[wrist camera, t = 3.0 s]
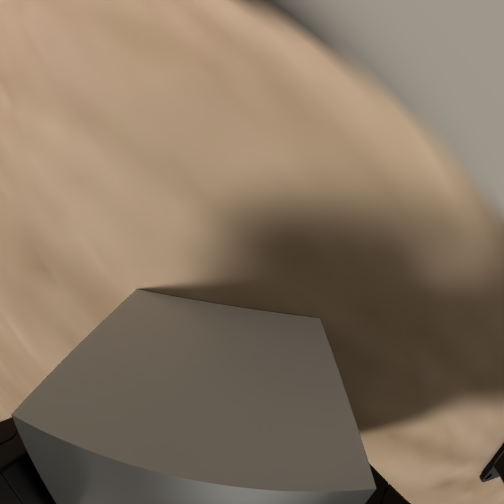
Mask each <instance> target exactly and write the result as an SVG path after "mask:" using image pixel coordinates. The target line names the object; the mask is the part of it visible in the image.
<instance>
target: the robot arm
mask: <svg viewBox="0 0 504 504" xmlns="http://www.w3.org/2000/svg"><path fill="white" fill-rule="evenodd" d="M369 465H370V464H369ZM370 469H371V472H372V475H373V479H374V482H375V485H376V490H375V491H374V492H373V494H372V495H371V496H370V498H369V499H368V500H367V502H366V503H365V504H410V503H409V502H408V501H407V500H406V499H405V498H404V497H403V496H401V495H400V494H399V493H398V492H397V491H396V490H395V489H394V488H393V487H392V486H391V485H390V484H388V482H387V481H386V480H385V479H384V478H383V477H382V476H381V475H380V474H379V473H378V472H377V471H376V470H375V469H374V468H373V467H372V466H371V465H370ZM499 476H500V478H501V479H502V481H503V483H504V445H503V446H502V448H501V449H500V451H499V452H498V453H497V455H496V456H495V457H494V459H493V460H492V461H491V463H490V464H489V465H488V466H487V468H486V469H485V470H484V471H483V473H482V474H481V475H480V479H481V481H482V482H486V481H488V480H491V479H494V478H497V477H499ZM0 504H56V502H55V501H54V499H53V497H52V496H51V494H50V492H49V491H48V489H47V487H46V486H45V484H44V482H43V480H42V479H41V477H40V475H39V473H38V471H37V469H36V467H35V465H34V464H33V462H32V460H31V458H30V456H29V454H28V452H27V449H26V447H25V445H24V443H23V441H22V439H21V436H20V434H19V432H18V430H17V427H16V425H15V422H14V420H13V417H11V418H9V419H6V420H4V421H1V422H0Z"/></svg>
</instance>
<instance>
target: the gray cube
mask: <svg viewBox="0 0 504 504" xmlns="http://www.w3.org/2000/svg"><path fill="white" fill-rule="evenodd" d="M11 415H12V417H13V420H14V422H15V425H16V427H17V430H18V432H19V434H20V436H21V439H22V441H23V443H24V445H25V447H26V449H27V452H28V454H29V456H30V458H31V460H32V462H33V464H34V465H35V467H36V469H37V471H38V473H39V475H40V477H41V479H42V480H43V482H44V484H45V486H46V487H47V489H48V491H49V492H50V494H51V496H52V497H53V499H54V501H55V502H56V504H365V503H366V502H367V500H368V499H369V498H370V496H371V495H372V494H373V492H374V491H375V490H376V485H375V482H374V479H373V475H372V472H371V469H370V465H369V462H368V459H367V456H366V452H365V449H364V446H363V443H362V440H361V436H360V433H359V430H358V427H357V424H356V421H355V418H354V415H353V412H352V409H351V406H350V403H349V400H348V397H347V394H346V391H345V388H344V385H343V382H342V379H341V376H340V373H339V370H338V367H337V365H336V362H335V359H334V356H333V353H332V350H331V347H330V345H329V342H328V339H327V336H326V333H325V331H324V328H323V325H322V322H321V320H320V318H314V317H306V316H298V315H291V314H283V313H276V312H269V311H262V310H255V309H248V308H242V307H235V306H229V305H222V304H216V303H210V302H204V301H198V300H193V299H187V298H181V297H176V296H170V295H165V294H159V293H154V292H149V291H144V290H139V289H136V290H135V291H134V292H133V293H132V294H131V295H130V296H129V297H128V298H127V299H126V300H125V301H123V302H122V303H121V304H120V305H119V306H118V307H117V308H116V309H115V310H114V311H113V312H112V313H111V314H110V315H109V316H108V317H107V318H106V319H105V320H103V321H102V322H101V323H100V324H99V325H98V326H97V327H96V328H95V329H94V330H93V331H92V332H91V333H90V334H89V335H88V336H87V337H86V338H85V339H84V340H83V341H82V342H81V343H80V344H79V345H78V346H77V347H76V348H75V349H74V350H73V351H72V352H71V353H70V354H69V355H68V356H67V357H66V358H65V359H64V360H63V361H62V362H61V363H60V364H59V365H58V366H57V367H56V368H55V369H54V370H53V371H52V372H51V373H50V374H49V375H48V376H47V377H46V378H45V379H44V380H43V381H42V382H41V383H40V385H39V386H38V387H37V388H36V389H35V390H34V391H33V392H32V393H31V394H30V395H29V396H28V397H27V398H26V399H25V400H24V401H23V402H22V404H21V405H20V406H19V407H18V408H17V409H16V410H15V411H14V412H13V413H12V414H11Z"/></svg>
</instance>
